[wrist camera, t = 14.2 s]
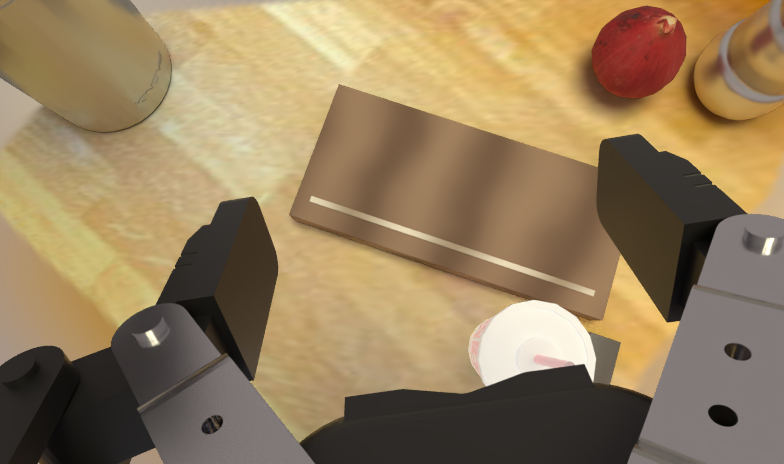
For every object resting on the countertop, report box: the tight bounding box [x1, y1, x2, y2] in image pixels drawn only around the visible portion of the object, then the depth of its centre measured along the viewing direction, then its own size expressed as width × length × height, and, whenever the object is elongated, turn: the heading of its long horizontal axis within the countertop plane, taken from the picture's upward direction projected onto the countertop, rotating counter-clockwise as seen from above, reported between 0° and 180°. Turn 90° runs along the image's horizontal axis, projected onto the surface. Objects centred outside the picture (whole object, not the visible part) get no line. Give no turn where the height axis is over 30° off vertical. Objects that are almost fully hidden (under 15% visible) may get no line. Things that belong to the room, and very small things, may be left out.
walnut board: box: [289, 84, 621, 385], centre depth 36 cm, size 24×17×2 cm
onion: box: [592, 6, 686, 98], centre depth 36 cm, size 6×6×8 cm
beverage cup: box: [468, 300, 596, 386], centre depth 29 cm, size 6×6×14 cm
